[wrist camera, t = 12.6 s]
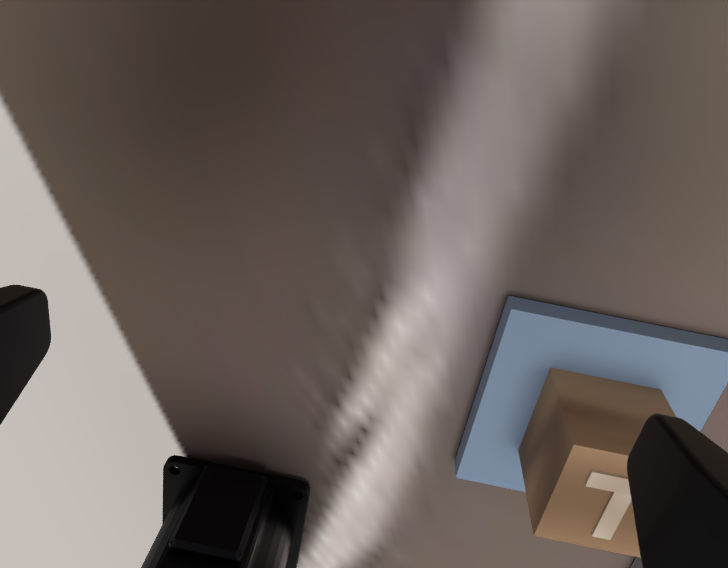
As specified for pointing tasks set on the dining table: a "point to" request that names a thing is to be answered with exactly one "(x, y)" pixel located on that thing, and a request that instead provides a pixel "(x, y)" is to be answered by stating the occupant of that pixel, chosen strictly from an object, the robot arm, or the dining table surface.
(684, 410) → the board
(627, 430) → the letter cube
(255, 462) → the dining table surface
